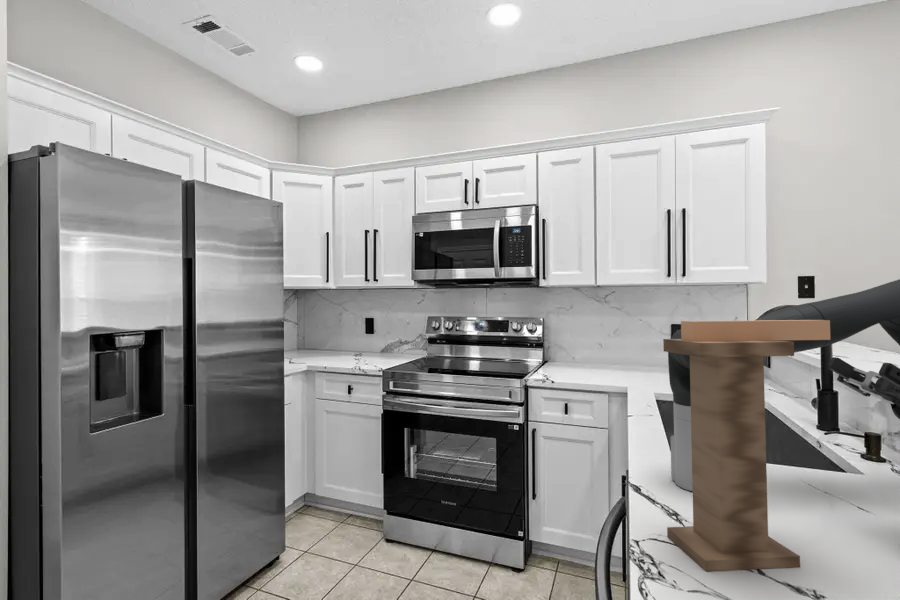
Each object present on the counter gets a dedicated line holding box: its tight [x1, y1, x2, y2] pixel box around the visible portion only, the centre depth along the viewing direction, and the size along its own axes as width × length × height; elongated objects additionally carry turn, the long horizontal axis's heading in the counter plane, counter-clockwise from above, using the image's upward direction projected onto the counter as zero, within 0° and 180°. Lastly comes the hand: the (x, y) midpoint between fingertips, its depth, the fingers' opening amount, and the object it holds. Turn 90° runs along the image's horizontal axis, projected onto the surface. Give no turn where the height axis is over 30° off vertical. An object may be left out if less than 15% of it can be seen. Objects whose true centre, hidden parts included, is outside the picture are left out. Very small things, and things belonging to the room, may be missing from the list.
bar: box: [680, 319, 830, 342], centre depth 71 cm, size 22×3×3 cm, turn 94°
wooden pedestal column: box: [662, 338, 801, 572], centre depth 70 cm, size 14×10×32 cm
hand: (855, 364), depth 72 cm, fingers open, 8 cm apart
